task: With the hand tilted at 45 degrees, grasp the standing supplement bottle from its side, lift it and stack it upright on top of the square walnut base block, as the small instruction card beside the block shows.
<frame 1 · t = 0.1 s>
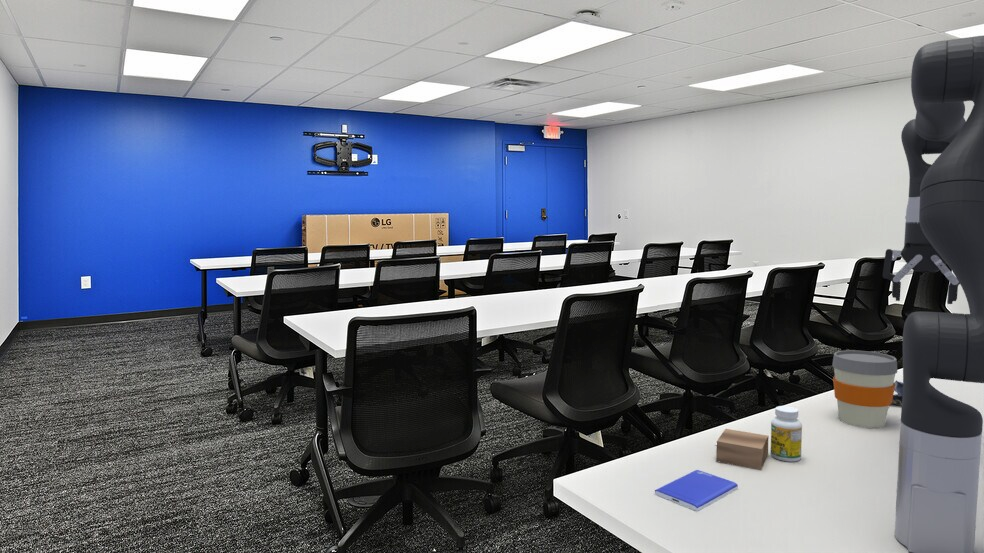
hand: (923, 302, 123), 29 cm above the table, tool pointing down, fingers open, 8 cm apart
hard drive: (696, 495, 105), on the table
supplement bottle: (785, 458, 120), on the table
reusable coffee cup: (861, 422, 139), on the table
snack package: (901, 405, 152), on the table
instruction card: (731, 442, 128), on the table
walnut base block: (742, 458, 119), on the table
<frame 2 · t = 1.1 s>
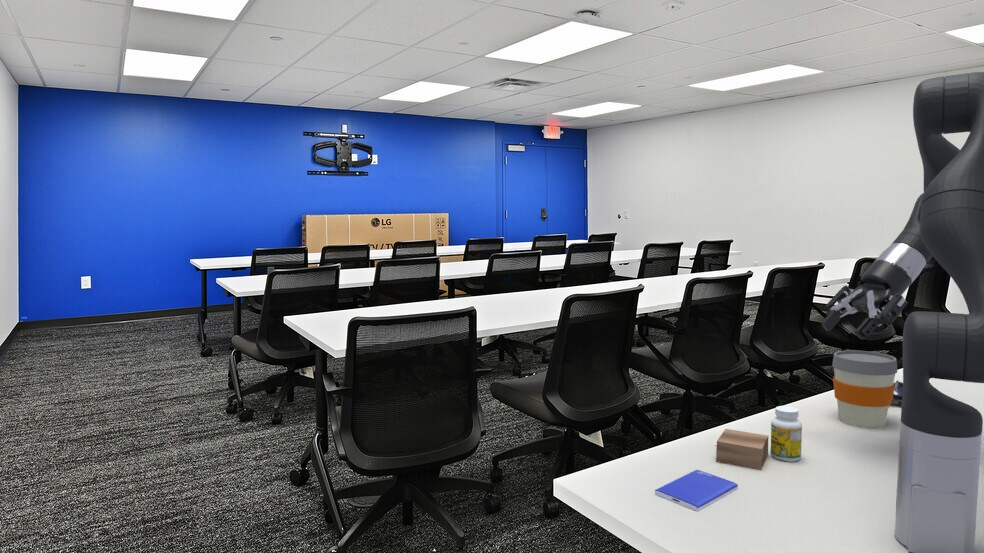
hand: (841, 332, 120), 24 cm above the table, tool tilted 45°, fingers open, 8 cm apart
nothing on the table moved.
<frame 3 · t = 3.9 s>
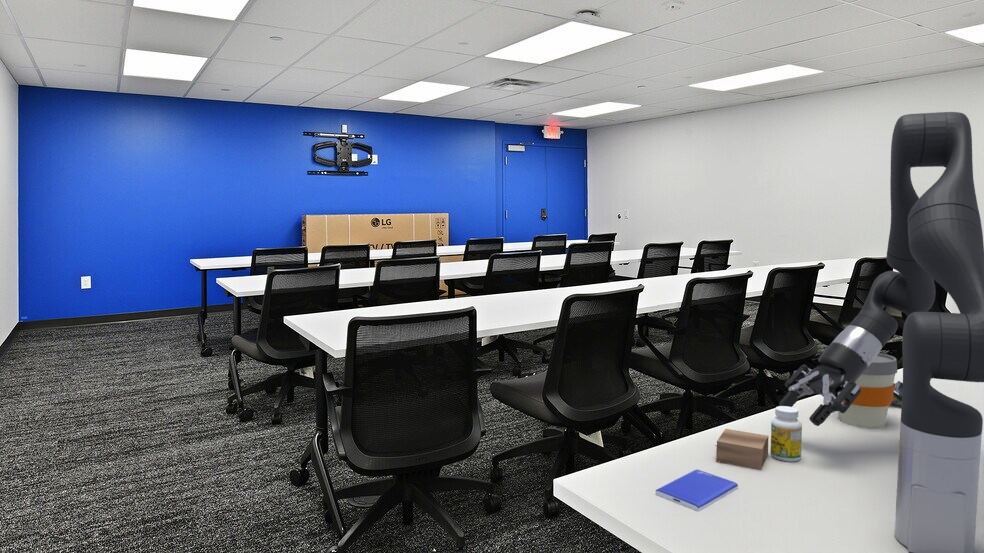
hand: (797, 415, 119), 8 cm above the table, tool tilted 45°, fingers open, 8 cm apart
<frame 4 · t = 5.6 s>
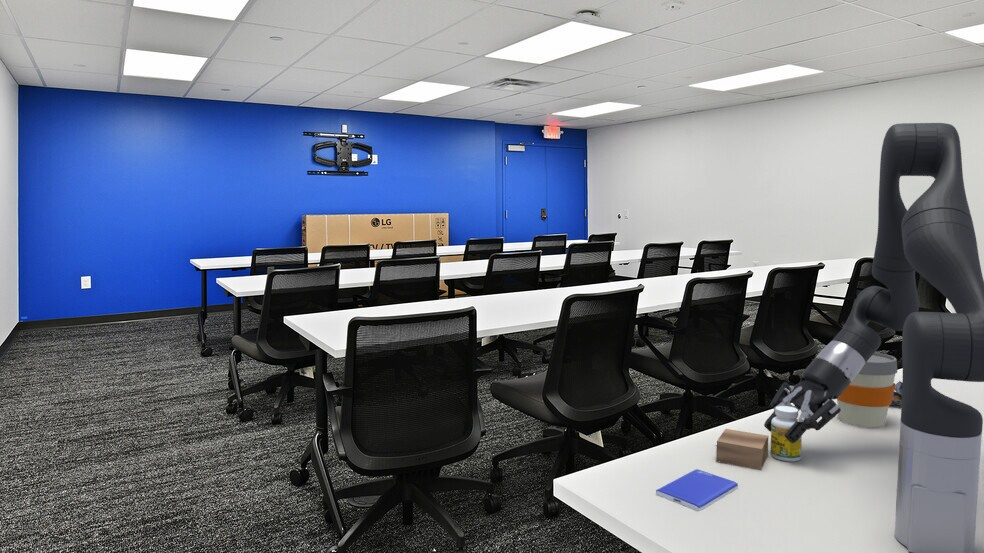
hand: (778, 434, 119), 5 cm above the table, tool tilted 45°, fingers closed on supplement bottle, 5 cm apart
supplement bottle: (785, 457, 120), on the table, touching gripper
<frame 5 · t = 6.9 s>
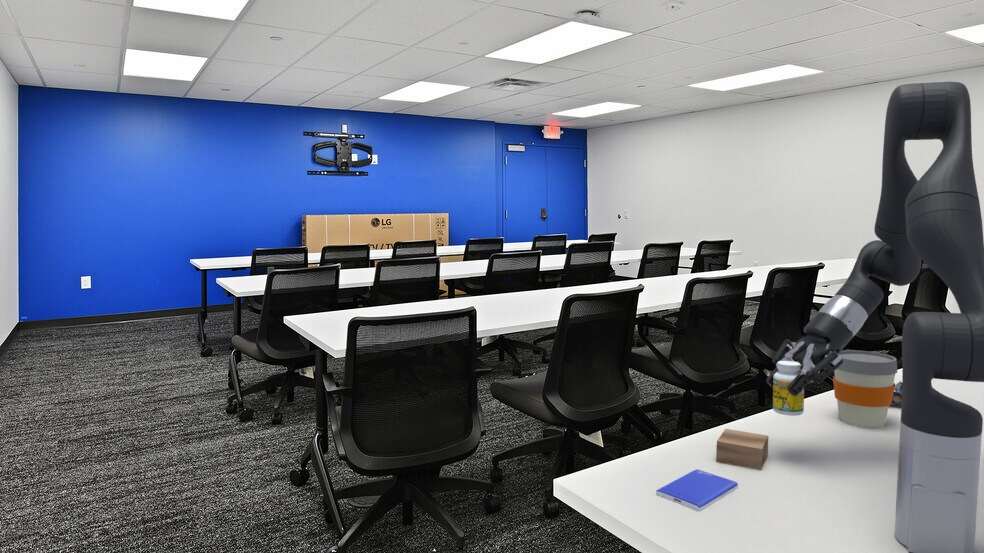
hand: (780, 388, 118), 14 cm above the table, tool tilted 45°, fingers closed on supplement bottle, 5 cm apart
supplement bottle: (787, 413, 119), point 9 cm above the table, touching gripper
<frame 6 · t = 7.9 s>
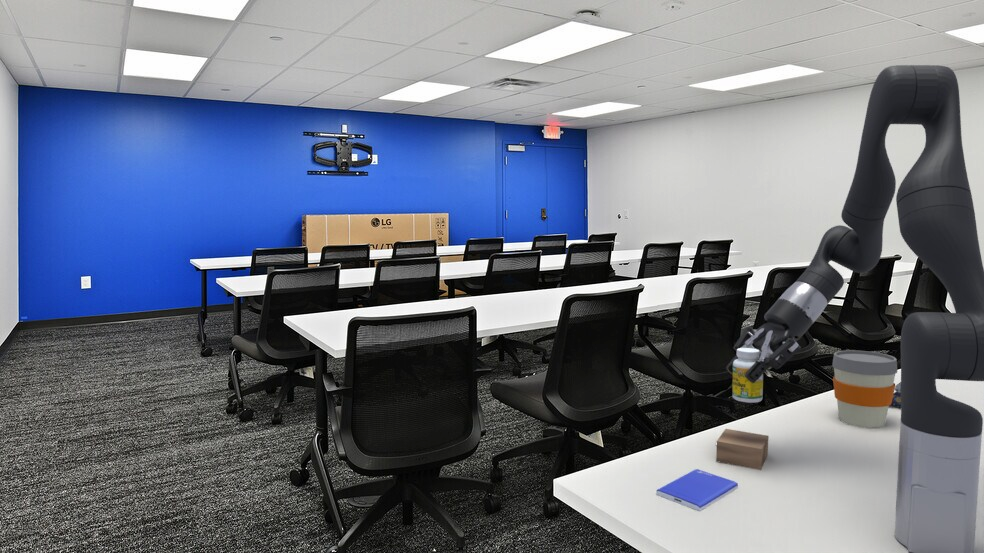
hand: (739, 375, 117), 16 cm above the table, tool tilted 45°, fingers closed on supplement bottle, 5 cm apart
supplement bottle: (747, 400, 118), point 12 cm above the table, touching gripper
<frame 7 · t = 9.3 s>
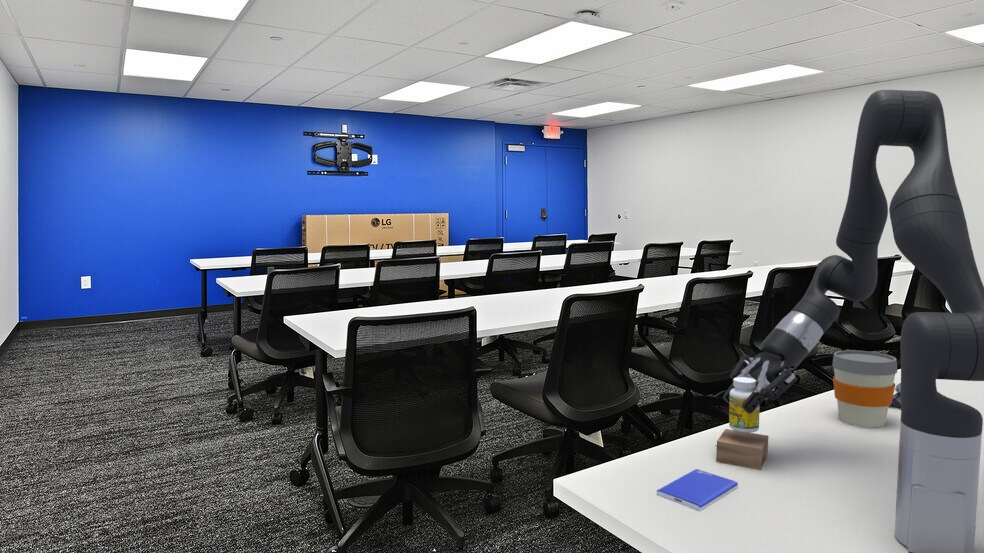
hand: (736, 405, 118), 11 cm above the table, tool tilted 45°, fingers closed on supplement bottle, 5 cm apart
supplement bottle: (743, 429, 119), point 6 cm above the table, touching gripper
when the fingers open (10 cm above the table, at t = 9.9 s): supplement bottle drops 1 cm, resting on walnut base block.
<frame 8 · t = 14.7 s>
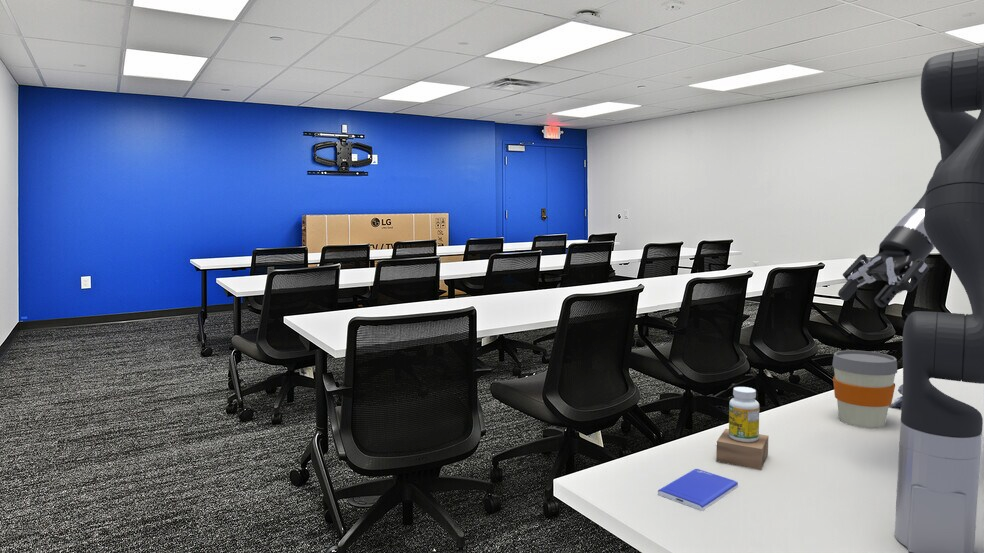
hand: (859, 300, 115), 31 cm above the table, tool tilted 45°, fingers open, 8 cm apart
supplement bottle: (743, 438, 119), point 4 cm above the table, touching walnut base block
at the end: supplement bottle inside the target area on the walnut base block (0.3 cm from its centre), point 3.8 cm above the walnut base block's base; supplement bottle tilted 0°; the gripper is holding nothing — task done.
